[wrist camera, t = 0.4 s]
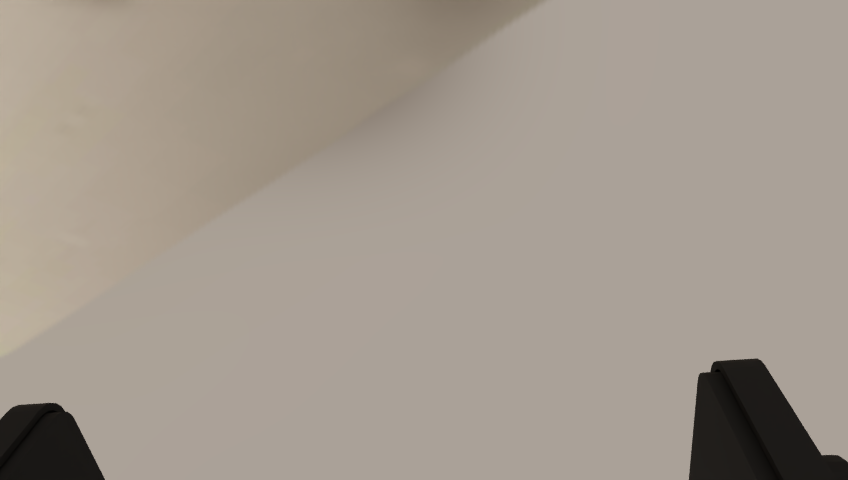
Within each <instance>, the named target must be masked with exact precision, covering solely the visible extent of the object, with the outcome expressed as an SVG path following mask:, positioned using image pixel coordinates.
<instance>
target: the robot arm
mask: <svg viewBox="0 0 848 480" xmlns="http://www.w3.org/2000/svg"><path fill="white" fill-rule="evenodd" d="M0 480H105V479H104V477H103V475H102V473H101V471H100V469H99V467H98V465H97V463H96V461H95V459H94V457H93V455H92V453H91V451H90V449H89V447H88V445H87V443H86V441H85V439H84V437H83V435H82V433H81V431H80V429H79V427H78V425H77V423H76V421H75V419H74V418H73V416H72V415H71V414H70V413H68V412H65V411H64V409H63V408H62V407H61V406H60V405H58V404H56V403H43V404H27V405H18V406H15V407H13V408H11V409H10V410H9V411H8V412H7V413H6V414H5V415H4V416H3V417H2V418H1V420H0ZM689 480H848V462H847V461H846V460H844V459H842V458H841V457H840V456H838V455H821V453H820V452H819V450H818V449H817V447H816V446H815V444H814V442H813V441H812V439H811V438H810V436H809V434H808V433H807V431H806V430H805V429H804V427H803V425H802V423H801V422H800V420H799V419H798V417H797V415H796V414H795V412H794V411H793V409H792V407H791V406H790V404H789V403H788V401H787V400H786V398H785V396H784V395H783V393H782V392H781V390H780V388H779V387H778V385H777V384H776V382H775V381H774V379H773V378H772V376H771V374H770V373H769V371H768V370H767V368H766V367H765V365H764V364H763V363H762V361H761V360H759V359H744V360H727V361H716V362H714V363H713V365H712V367H711V372H707V373H700V375H699V377H698V384H697V396H696V407H695V418H694V429H693V440H692V451H691V463H690V474H689Z"/></svg>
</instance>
